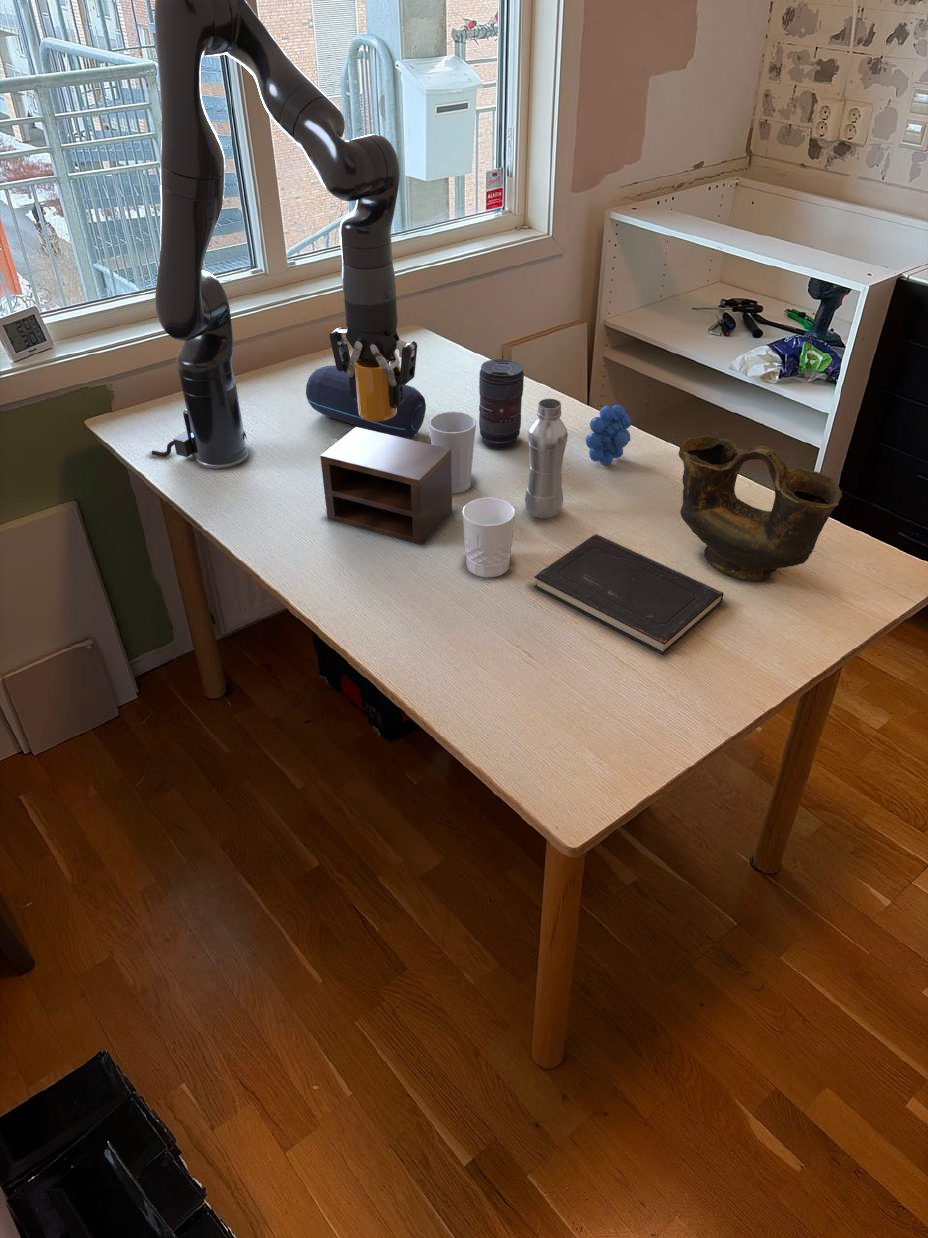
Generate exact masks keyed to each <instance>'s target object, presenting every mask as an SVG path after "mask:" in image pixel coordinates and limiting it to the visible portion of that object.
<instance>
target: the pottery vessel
mask: <svg viewBox="0 0 928 1238" xmlns="http://www.w3.org/2000/svg"><path fill="white" fill-rule="evenodd" d="M781 456H782V455H780V454H779V453H778V452H777V451H776V450H775V449H772V448H770V447H768V446H765V445H758V446H752V447H748V449H742V448H741V447H740V446H739V445H738V444H736V443H735V442H734V441H732V440H730V439H728V438H720V437H719V436H715V435H711V434H710V435H708V434H704V435H700V436H698V437H697V436H696V437H688V438H687V439H685V441H684V443H683V445H682V446H679V450H678V457H679V459H680V460H681V461H682V463H683V474H682V479H681V480H682V485H683V489H682V505H681V508H680V511H679V513H680V517H681V518H682V520H683V521H684V523H685V524H686V525H687V526H688V527H689V529H690V530H691V532H692V533H693V534H695V535H696V537H697V538H698V539H699V540H700V541H701V542H702V543H703V544H704V545H705V546H706V547H705V549H704V550H703V556H704V559H706V562H707V563H708V564H709V565H710V567H712V568H713V569H715V570H717V571H718V572H719V573H721V574H723V575H726V576H728V577H731V578H733V579H736V580H739V581H740V580H741V581H751V582H765V581H767V580H769V579H770V578H771V576H772V574H774V573H776V572H777V571H778V570H780V569H783V568H784V569H785V568H790V567H794V566H798V565H804V564H805V562H807V561H808V560H809V558H810V556H811V555H812V553H813V552H814V549H815V546H816V544H817V541H818V538H819V536H820V534H821V533H822V531H823V528H824V527H825V525H826V524H827V521H828V520H829V518H830V515H831V514H832V513H833V511H834V509H835V508H836V507H838V506H839V503H840V501H841V498H843V495H842V493H843V492H842V490H841V489H840V487H839V483H838V482H837V481H836V480H835V479H834V478H833V477H831V476H828V475H826V474H823V473H821V472H819V471H815V470H810V469H803V468H793V469H788V467H787V464H786V463H785V462H784V461H783V460H782V457H781ZM750 460H760V461H763V462H764V463H765V465H766V466H767V468H768V473H769V475H770V478H771V482H772V484H773V487H774V500H773V505H772V508H771V510H764V509H761V508H757V507H754V506H753V505H751V504H748V503H747V502H744V501H743V500H741V499H739V498H738V497H737V495H736V482H737V478H738V475H739V473H740V470H741V468H742V467H743V465H744V463H745V462H747V461H750Z"/></svg>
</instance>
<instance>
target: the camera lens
mask: <svg viewBox="0 0 928 1238" xmlns="http://www.w3.org/2000/svg"><path fill="white" fill-rule="evenodd" d="M478 374H479V377H478V379H479V380H478V391H479V393H478V394H479V405H478V411H479V414H478V426H479V427H478V428H479V434H480V436H481V442H482V444H483V445H484V446H485V447H487V448H490V449H494V450H505V449H510V448H512V447H514V446H515V445H516V444H517V442H518V437H519V436H520V433H521V432H520V431H521V426H522V404H523V403H522V401H523V400H522V399H523V398H522V397H523V394H524V378H525V373H524V367H523V365H522V364H521V363H519V362H518V361H515V360H511V359H504V358H495V359H489V360H486V361H484V362H483V363H482V364H481V366H480V370H479V373H478Z"/></svg>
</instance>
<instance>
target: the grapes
mask: <svg viewBox="0 0 928 1238" xmlns="http://www.w3.org/2000/svg"><path fill="white" fill-rule="evenodd" d="M631 426H632V418H631V416H630V415H629V414H628V413H626V409H625V408H624V406H623V405H622V404H620V403H619V404H617V403H616V404H614V405H613V406H612V405H604V406H602V407H601V408H600V410H599V416H595V417H593V418H592V419H591V420H590V422H589V428H590V430H591V433H589V434H587V436H586V437H585V444H586V446H587V448H588V449H589V451H588V455H589V458H590V460H591V461H592V462H595V463H596V462H597V463H600V464H601V465H602V466H607V465H610V464H611V463H612V462H613V461H614V459H619V458H620V457H622V456H623V455H624V448H625V447H626V446H627V445H628V444H629V442H631V433H630V432H629V430H628V429H629V428H630V427H631Z"/></svg>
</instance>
